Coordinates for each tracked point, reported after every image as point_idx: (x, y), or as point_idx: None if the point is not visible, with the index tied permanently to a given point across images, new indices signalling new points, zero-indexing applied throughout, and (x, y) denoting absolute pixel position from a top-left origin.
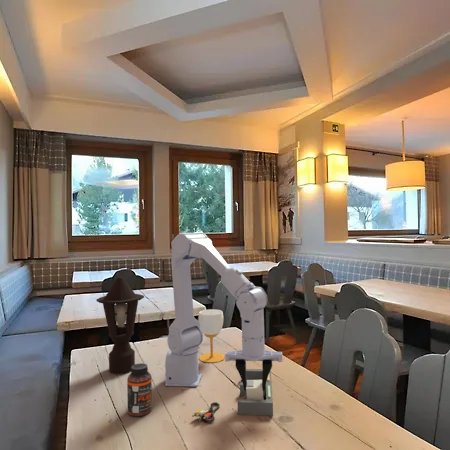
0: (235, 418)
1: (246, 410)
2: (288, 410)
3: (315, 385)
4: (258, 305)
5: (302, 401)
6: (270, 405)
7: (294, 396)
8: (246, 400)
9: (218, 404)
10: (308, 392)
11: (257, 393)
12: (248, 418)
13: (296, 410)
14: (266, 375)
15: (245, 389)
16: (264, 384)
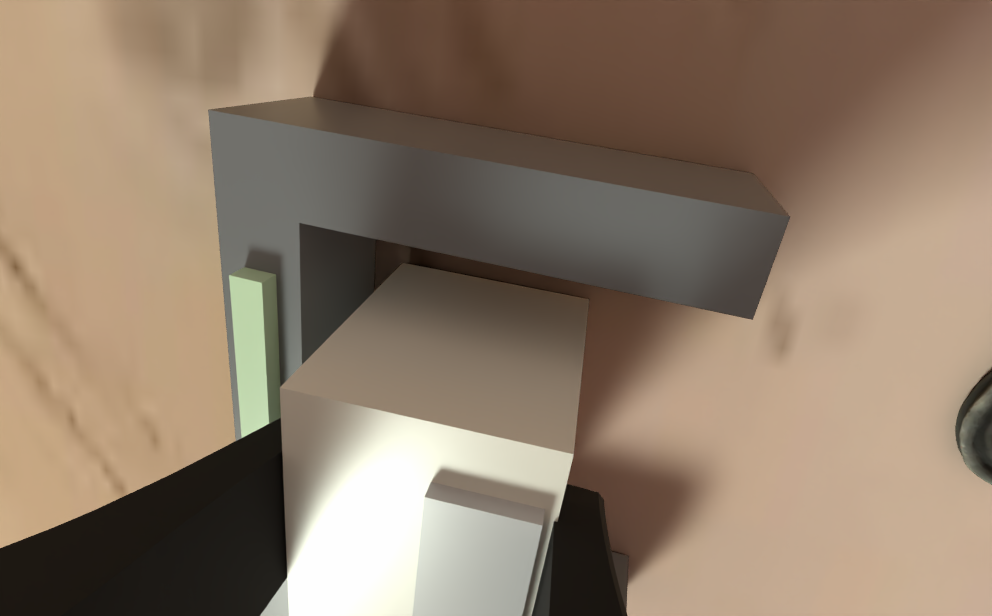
0: (814, 73)
1: (629, 162)
2: (162, 193)
3: (4, 536)
4: None
5: (60, 335)
6: (264, 111)
7: (130, 428)
8: (608, 254)
9: (976, 441)
10: (35, 459)
11: (401, 358)
12: (622, 56)
13: (91, 182)
14: (7, 567)
15: (579, 495)
16: (223, 457)
